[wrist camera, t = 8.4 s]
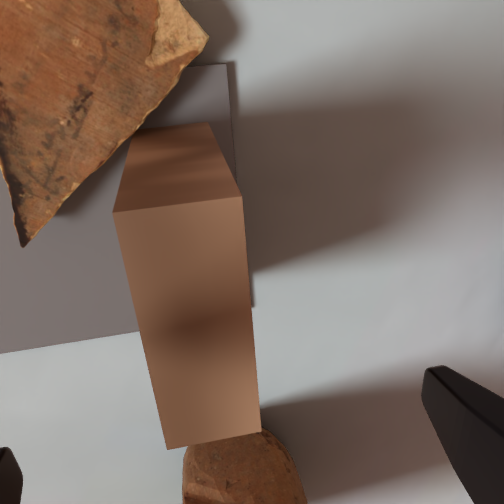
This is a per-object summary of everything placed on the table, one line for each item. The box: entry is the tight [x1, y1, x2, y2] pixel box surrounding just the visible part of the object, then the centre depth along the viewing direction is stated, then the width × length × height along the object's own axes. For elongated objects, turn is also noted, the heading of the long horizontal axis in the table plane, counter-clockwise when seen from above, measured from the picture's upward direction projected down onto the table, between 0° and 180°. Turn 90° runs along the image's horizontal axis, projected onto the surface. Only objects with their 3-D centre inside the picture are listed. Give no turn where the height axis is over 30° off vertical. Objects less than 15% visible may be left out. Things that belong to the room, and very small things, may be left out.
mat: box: [0, 63, 237, 354], centre depth 20 cm, size 13×12×1 cm
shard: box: [0, 0, 209, 248], centre depth 16 cm, size 11×8×2 cm
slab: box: [112, 122, 262, 450], centre depth 16 cm, size 3×8×9 cm, turn 4°
